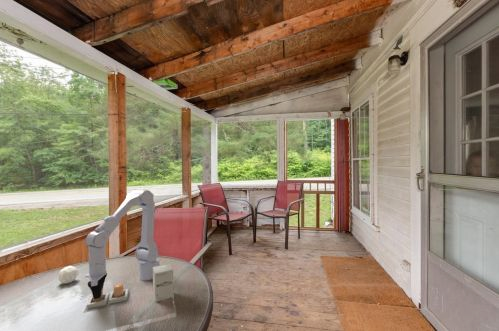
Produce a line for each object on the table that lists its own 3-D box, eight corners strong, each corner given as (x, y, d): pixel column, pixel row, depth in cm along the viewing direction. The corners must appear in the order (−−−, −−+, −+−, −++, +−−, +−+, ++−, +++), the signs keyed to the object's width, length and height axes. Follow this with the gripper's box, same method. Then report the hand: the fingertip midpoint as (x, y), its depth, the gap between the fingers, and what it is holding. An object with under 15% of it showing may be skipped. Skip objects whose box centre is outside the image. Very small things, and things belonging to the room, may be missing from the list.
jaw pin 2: (123, 294, 100) (123, 283, 100) (123, 299, 97) (122, 286, 97) (114, 296, 99) (114, 284, 99) (113, 301, 96) (113, 288, 96)
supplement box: (154, 305, 94) (154, 273, 94) (153, 296, 101) (152, 266, 101) (174, 300, 97) (173, 269, 97) (171, 291, 104) (170, 262, 104)
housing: (130, 292, 104) (130, 286, 104) (128, 305, 94) (128, 298, 94) (89, 300, 98) (89, 294, 98) (83, 315, 88) (83, 308, 88)
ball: (64, 288, 115) (59, 272, 117) (83, 278, 119) (77, 263, 121) (57, 287, 108) (52, 270, 111) (77, 276, 112) (72, 261, 115)
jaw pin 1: (103, 296, 97) (103, 284, 97) (102, 301, 94) (101, 288, 94) (93, 298, 96) (93, 286, 96) (91, 303, 93) (91, 290, 93)
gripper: (89, 257, 100) (90, 289, 100) (80, 271, 87) (81, 308, 87) (108, 254, 103) (109, 285, 103) (103, 267, 89) (104, 303, 90)
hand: (98, 295), depth 95 cm, fingers closed on jaw pin 1, 3 cm apart
